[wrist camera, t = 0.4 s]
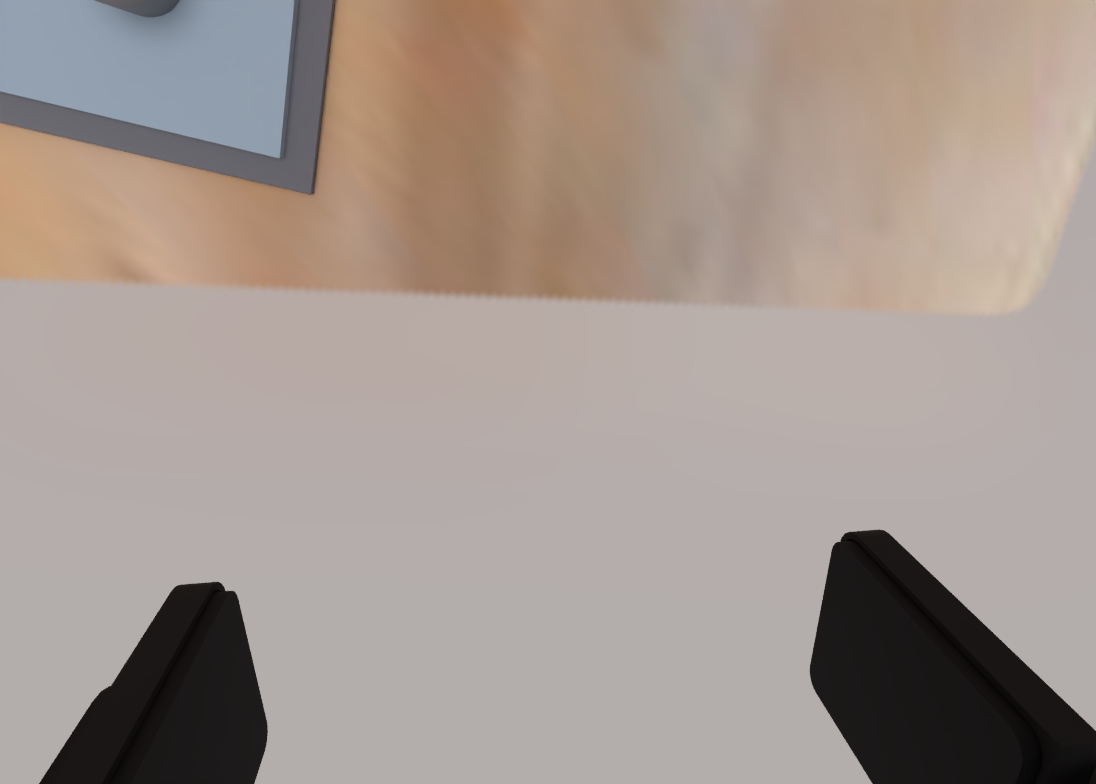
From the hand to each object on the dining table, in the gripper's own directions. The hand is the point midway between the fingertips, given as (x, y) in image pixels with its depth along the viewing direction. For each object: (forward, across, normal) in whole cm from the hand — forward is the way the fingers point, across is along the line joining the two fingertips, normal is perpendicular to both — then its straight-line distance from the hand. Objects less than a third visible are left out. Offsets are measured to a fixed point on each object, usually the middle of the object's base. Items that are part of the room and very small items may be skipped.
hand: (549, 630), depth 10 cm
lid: (+28, +15, -14) cm, 35 cm away
